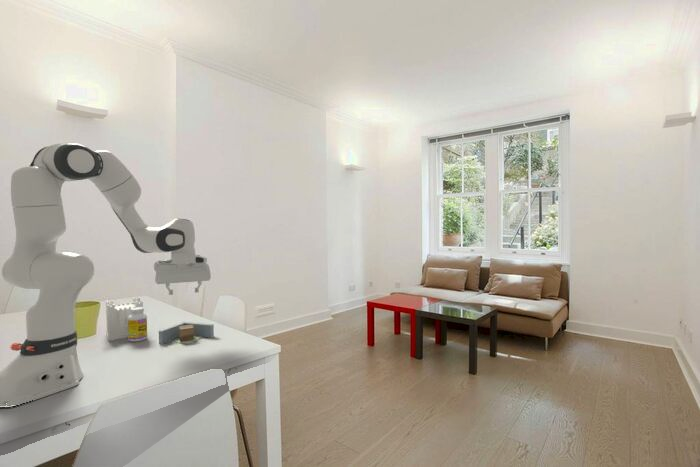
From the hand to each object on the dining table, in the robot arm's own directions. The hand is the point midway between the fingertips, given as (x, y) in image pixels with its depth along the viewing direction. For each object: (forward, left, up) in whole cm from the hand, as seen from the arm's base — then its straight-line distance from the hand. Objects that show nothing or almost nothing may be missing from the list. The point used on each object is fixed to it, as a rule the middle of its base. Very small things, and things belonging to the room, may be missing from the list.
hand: (184, 293), depth 144 cm
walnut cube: (+1, 0, -19) cm, 19 cm away
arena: (+2, 0, -19) cm, 19 cm away
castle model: (+1, +33, -19) cm, 38 cm away
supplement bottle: (-4, +20, -19) cm, 28 cm away
